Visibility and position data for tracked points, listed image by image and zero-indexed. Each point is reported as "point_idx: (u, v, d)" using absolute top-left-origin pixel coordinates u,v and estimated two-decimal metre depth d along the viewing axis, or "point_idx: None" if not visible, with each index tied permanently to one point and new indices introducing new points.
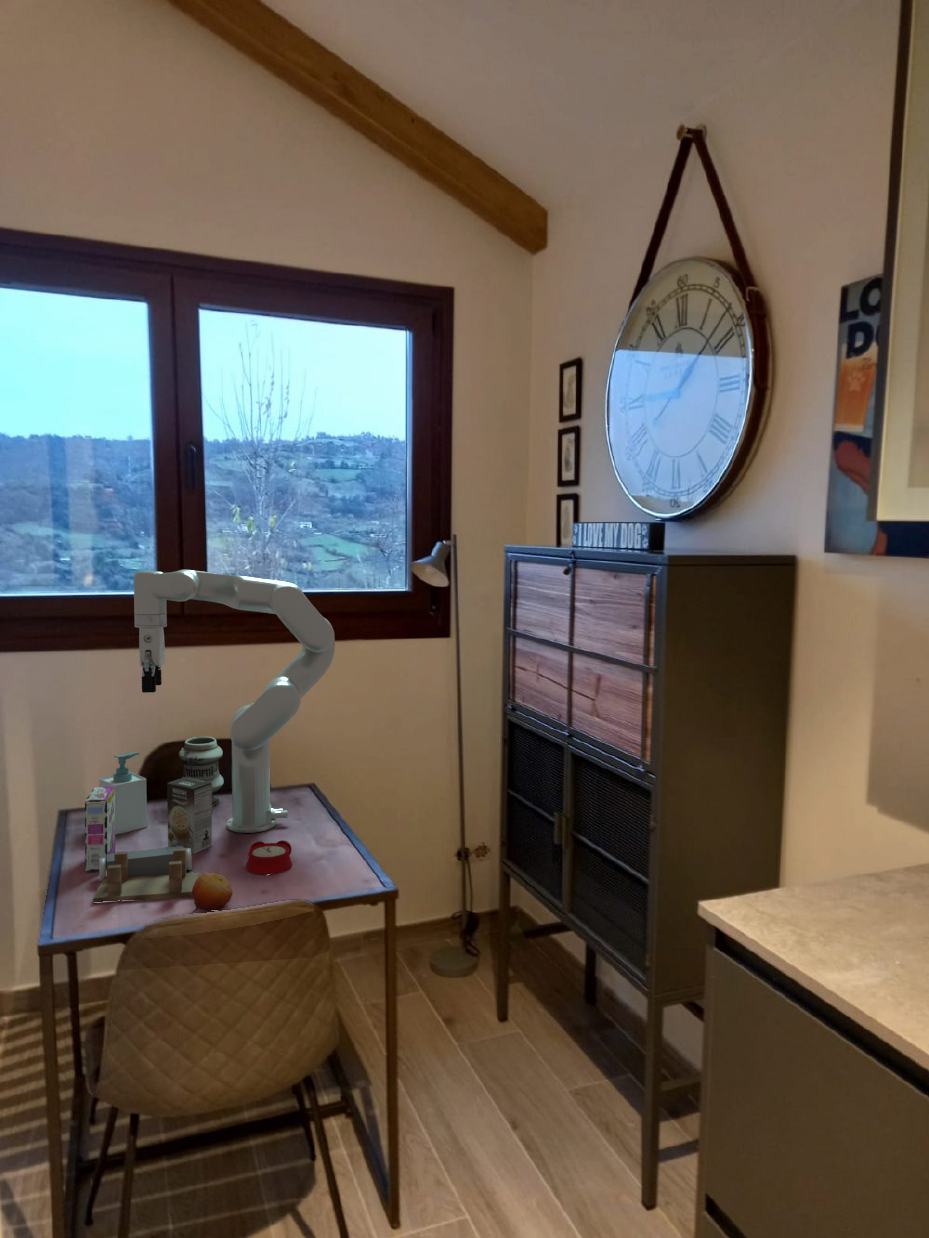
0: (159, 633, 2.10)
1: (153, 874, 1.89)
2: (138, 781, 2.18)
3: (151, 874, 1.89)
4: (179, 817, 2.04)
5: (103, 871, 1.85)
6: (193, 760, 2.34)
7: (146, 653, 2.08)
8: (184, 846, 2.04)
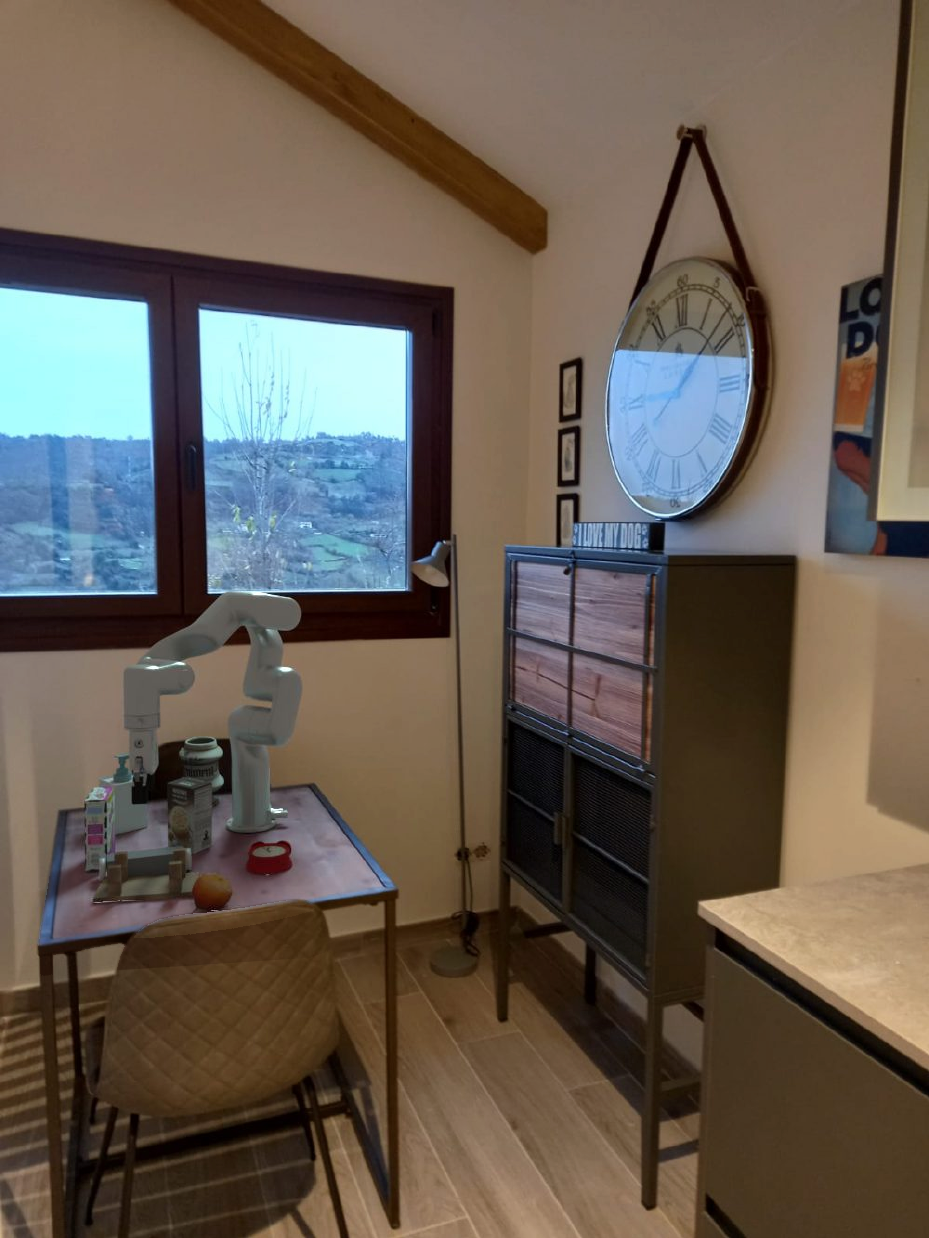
0: (152, 736, 1.85)
1: (153, 874, 1.89)
2: None
3: (151, 874, 1.89)
4: (179, 817, 2.04)
5: (103, 871, 1.85)
6: (193, 760, 2.34)
7: (137, 760, 1.83)
8: (184, 846, 2.04)
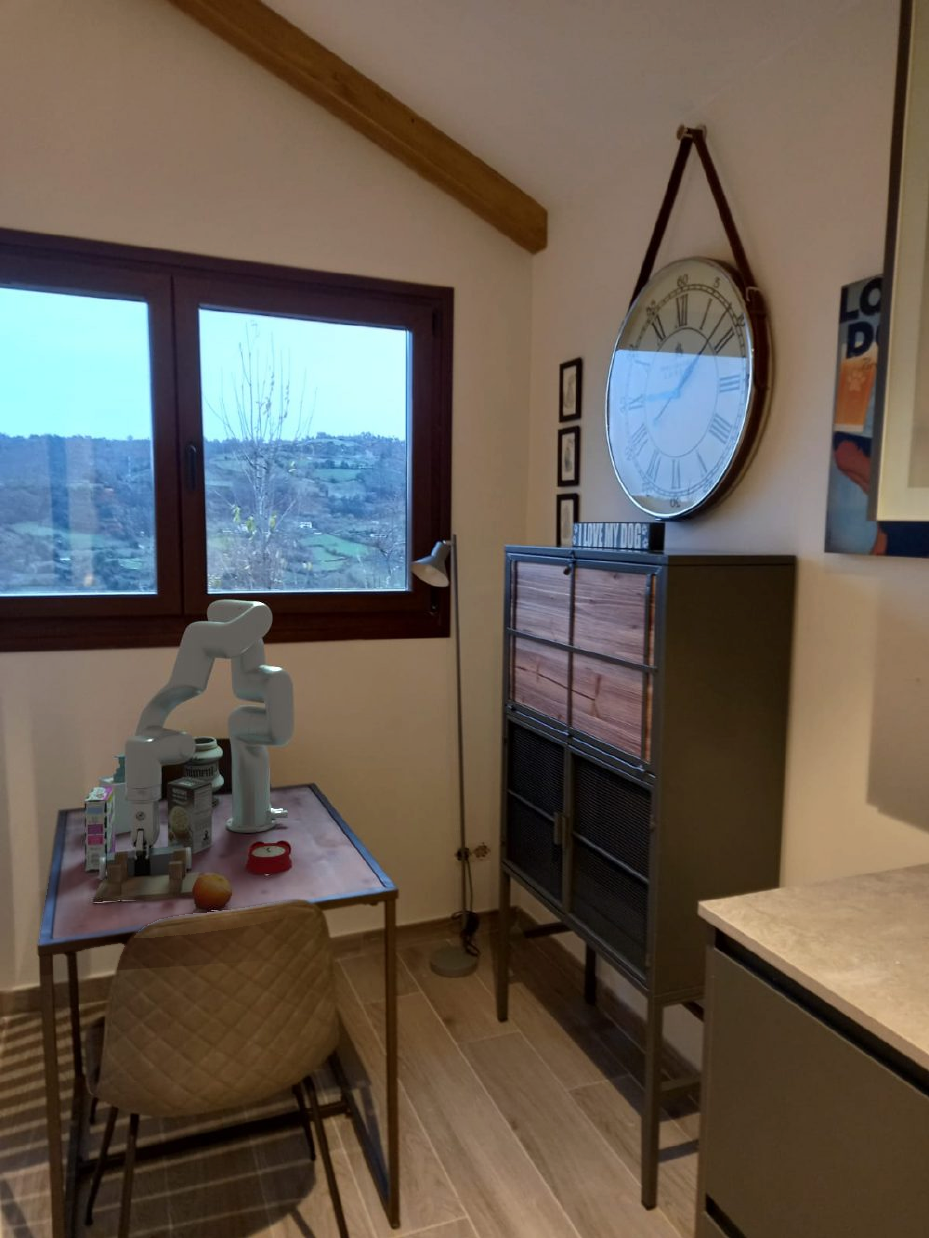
0: (153, 808, 1.87)
1: (153, 873, 1.89)
2: None
3: (151, 873, 1.89)
4: (179, 817, 2.04)
5: (103, 870, 1.85)
6: (193, 760, 2.34)
7: (138, 836, 1.85)
8: (184, 846, 2.04)
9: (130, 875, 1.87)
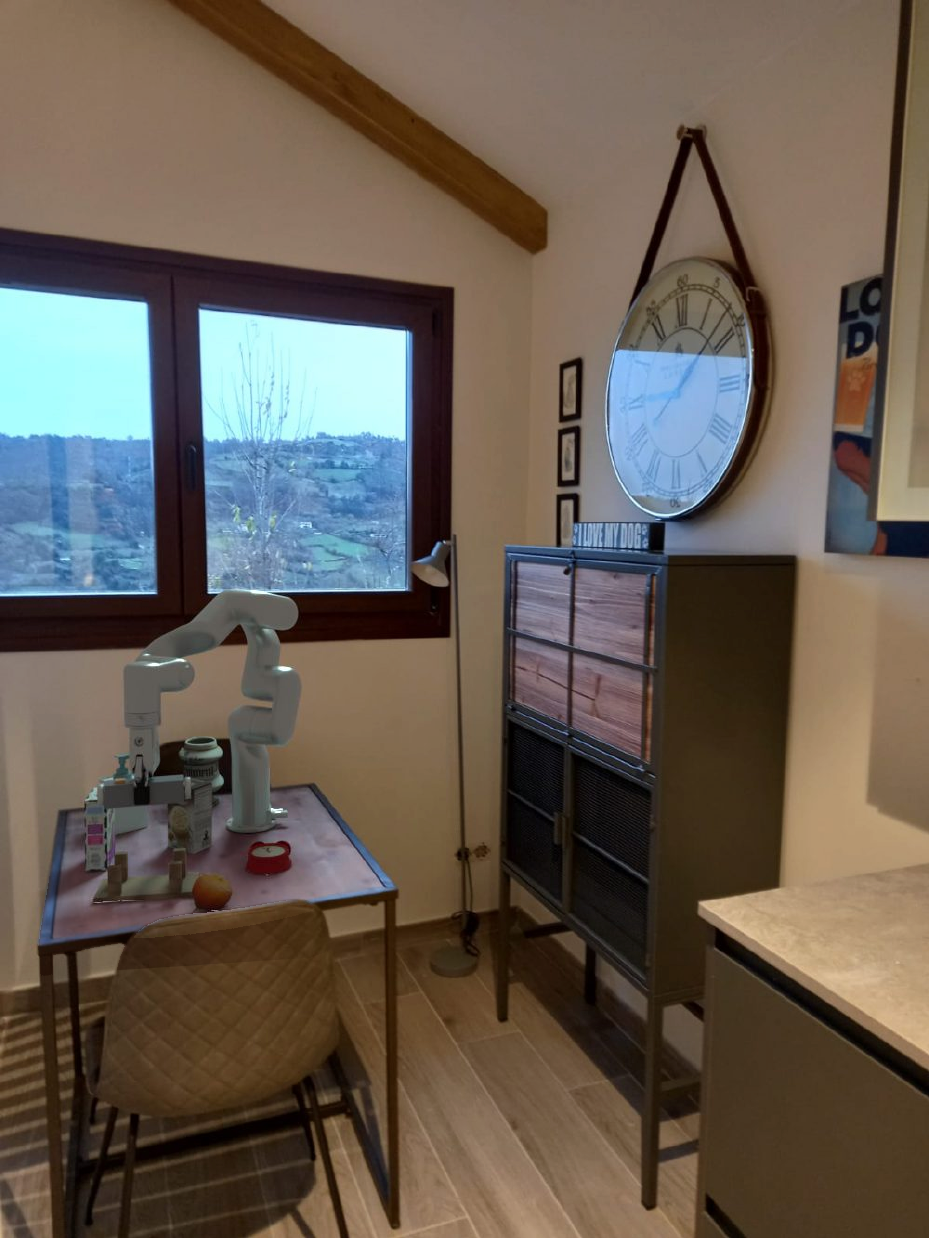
0: (152, 734, 1.83)
1: (152, 801, 1.86)
2: None
3: (150, 801, 1.86)
4: (179, 817, 2.04)
5: (101, 796, 1.82)
6: (193, 760, 2.34)
7: (137, 762, 1.81)
8: (184, 846, 2.04)
9: (128, 802, 1.84)
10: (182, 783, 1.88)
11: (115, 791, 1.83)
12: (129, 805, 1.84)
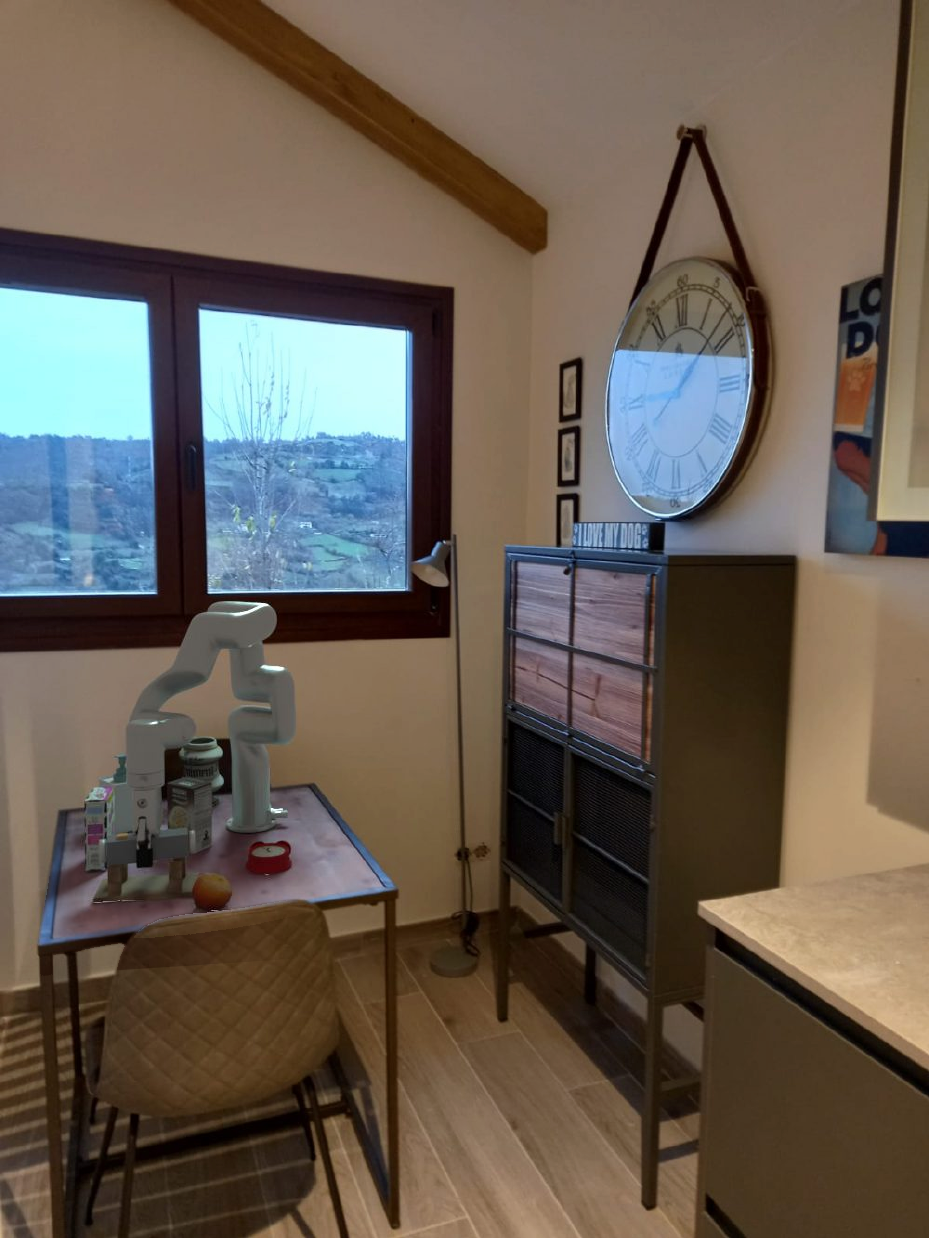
0: (156, 795, 1.77)
1: (156, 856, 1.80)
2: None
3: (153, 857, 1.79)
4: (179, 817, 2.04)
5: (103, 852, 1.76)
6: (193, 760, 2.34)
7: (140, 825, 1.75)
8: None
9: (131, 858, 1.78)
10: (186, 837, 1.81)
11: (117, 847, 1.77)
12: (132, 861, 1.78)
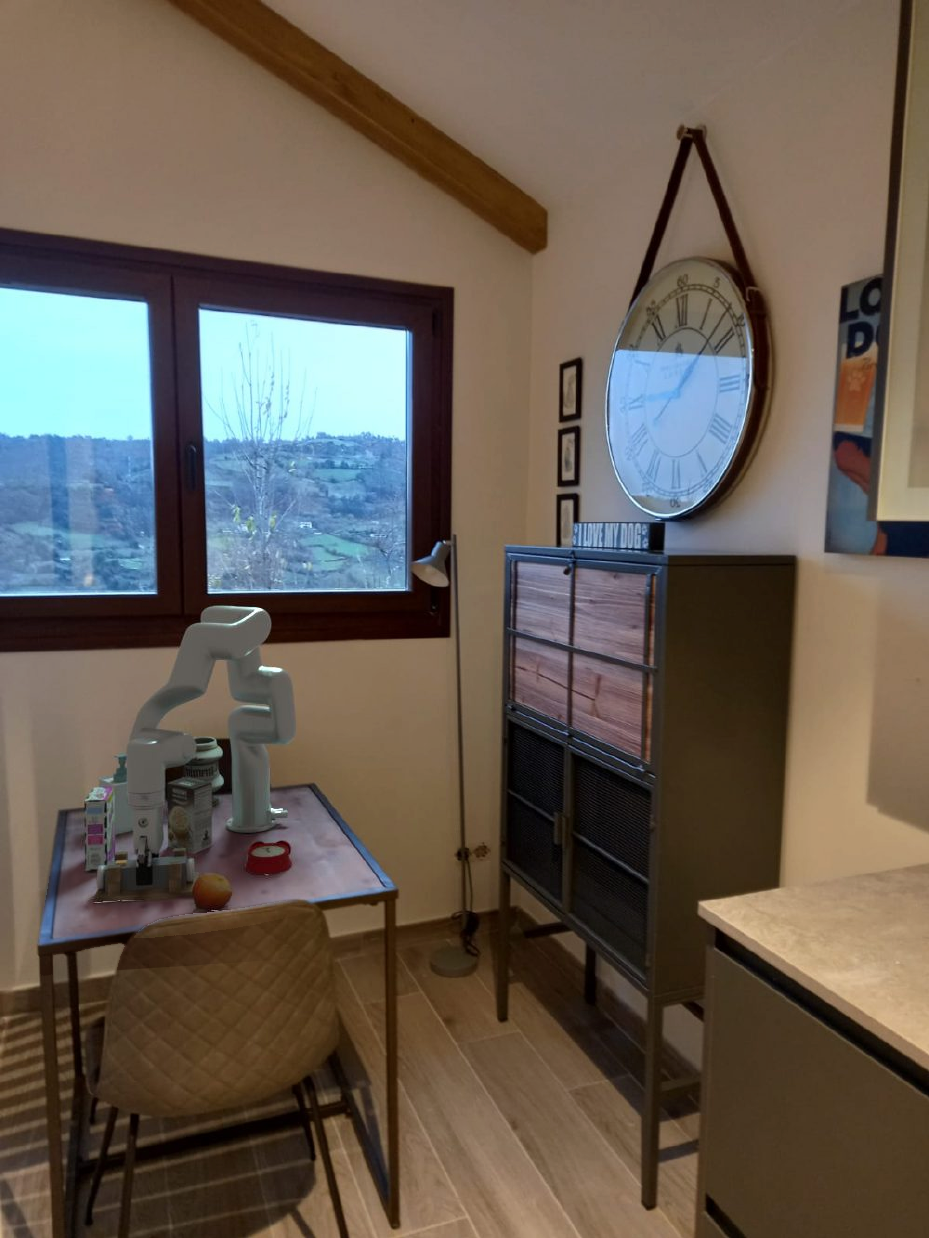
0: (156, 814, 1.78)
1: (153, 884, 1.80)
2: None
3: None
4: (179, 817, 2.04)
5: (101, 879, 1.77)
6: (193, 760, 2.34)
7: (141, 841, 1.75)
8: (184, 846, 2.04)
9: (129, 886, 1.79)
10: (184, 866, 1.81)
11: None
12: (129, 889, 1.79)
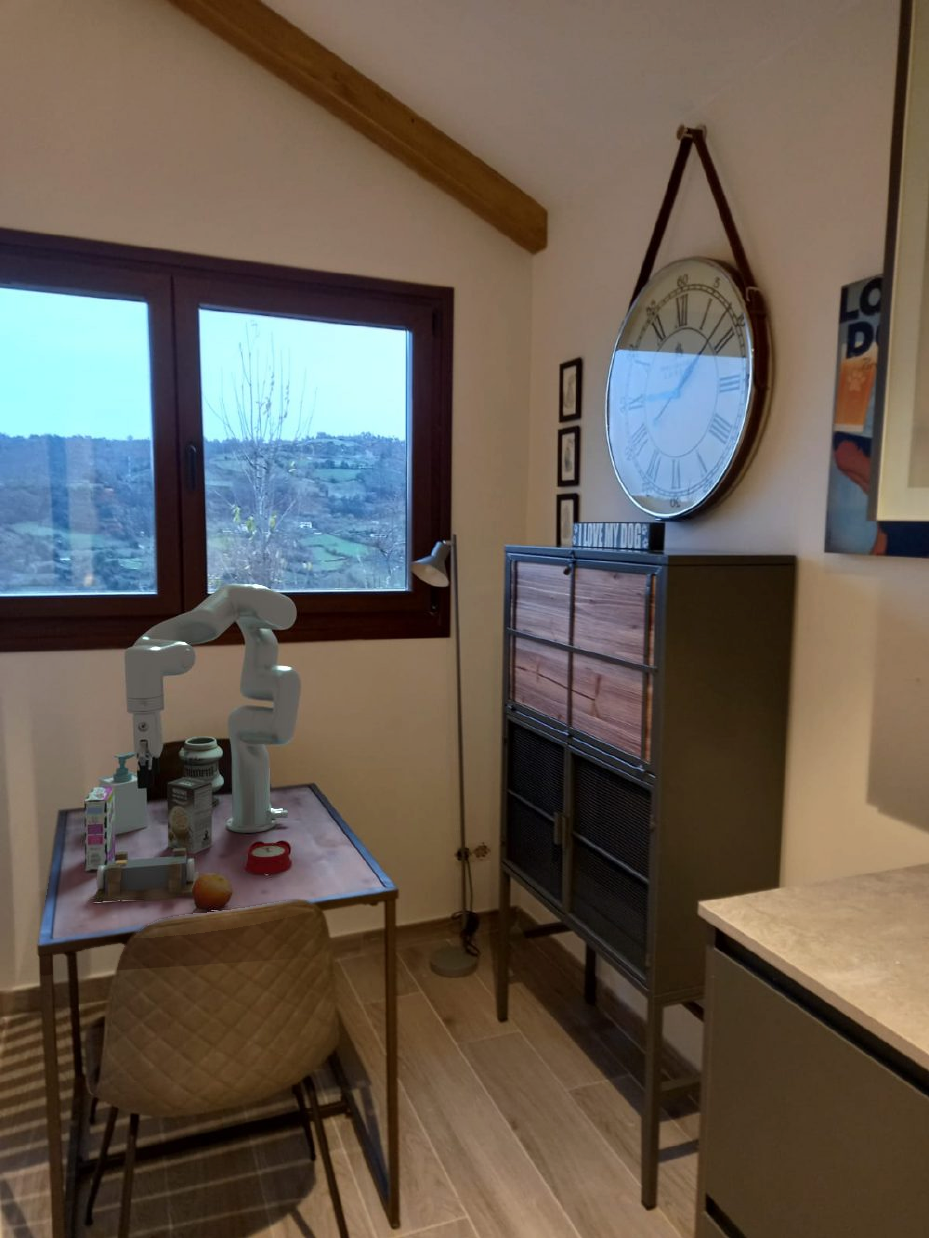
0: (156, 719, 1.81)
1: (153, 884, 1.80)
2: None
3: (151, 884, 1.80)
4: (179, 817, 2.04)
5: (101, 879, 1.77)
6: (193, 760, 2.34)
7: (141, 744, 1.78)
8: (184, 846, 2.04)
9: (129, 886, 1.79)
10: (184, 866, 1.81)
11: None
12: (129, 889, 1.79)
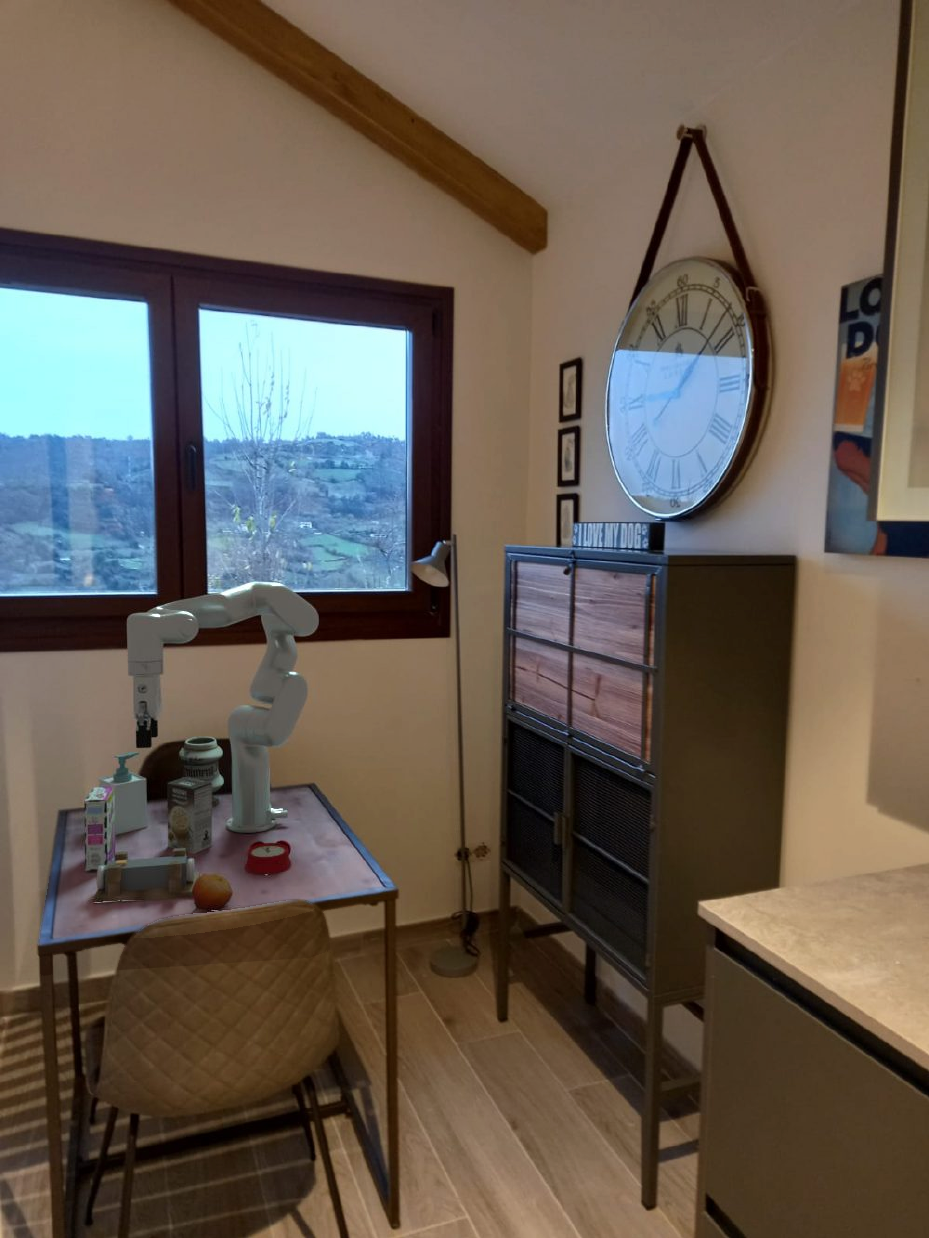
0: (155, 682, 1.90)
1: (153, 884, 1.80)
2: (138, 781, 2.18)
3: (151, 884, 1.80)
4: (179, 817, 2.04)
5: (101, 879, 1.77)
6: (193, 760, 2.34)
7: (141, 705, 1.88)
8: (184, 846, 2.04)
9: (129, 886, 1.79)
10: (184, 866, 1.81)
11: None
12: (129, 889, 1.79)
